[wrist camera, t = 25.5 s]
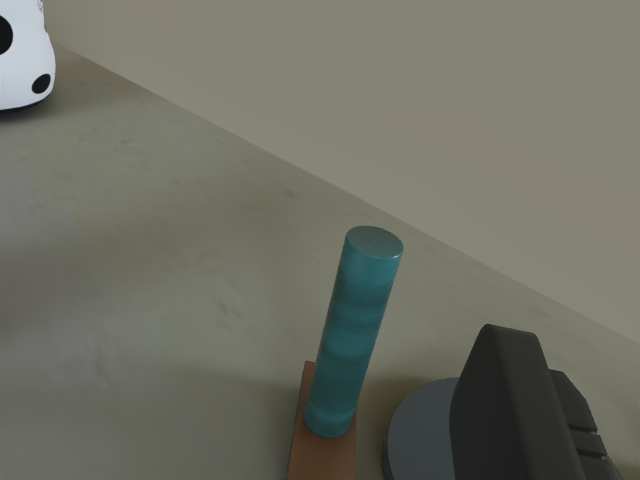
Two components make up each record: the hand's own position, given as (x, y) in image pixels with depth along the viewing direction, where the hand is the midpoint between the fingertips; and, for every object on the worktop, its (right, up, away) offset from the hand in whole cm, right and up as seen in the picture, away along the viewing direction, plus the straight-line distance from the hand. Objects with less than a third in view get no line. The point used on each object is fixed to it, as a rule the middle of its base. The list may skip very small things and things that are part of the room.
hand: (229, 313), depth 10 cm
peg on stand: (+1, -11, +26) cm, 28 cm away
